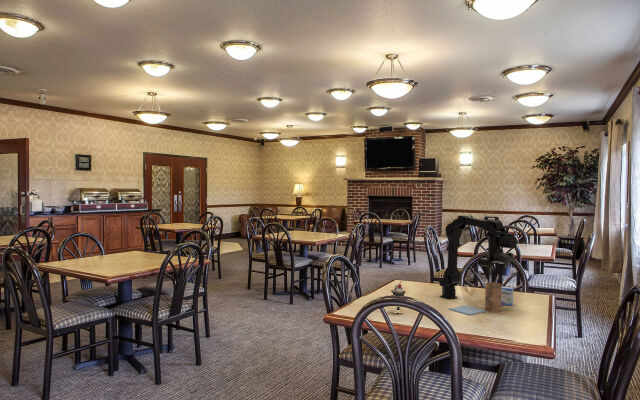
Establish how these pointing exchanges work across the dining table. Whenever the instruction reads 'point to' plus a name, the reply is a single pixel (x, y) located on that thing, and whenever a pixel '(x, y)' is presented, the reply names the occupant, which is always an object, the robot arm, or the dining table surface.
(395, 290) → the sundae
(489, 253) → the robot arm
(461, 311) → the slate mat
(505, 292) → the medicine box
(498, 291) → the walnut block
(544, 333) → the dining table surface
